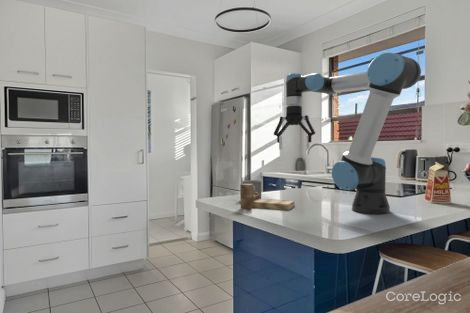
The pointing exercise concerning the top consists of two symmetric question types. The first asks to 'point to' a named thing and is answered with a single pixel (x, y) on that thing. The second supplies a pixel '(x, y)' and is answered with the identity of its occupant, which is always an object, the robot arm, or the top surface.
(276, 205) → the oak board
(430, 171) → the milk carton
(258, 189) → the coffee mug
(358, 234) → the top surface
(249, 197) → the block
